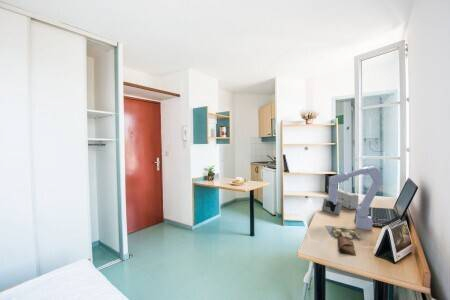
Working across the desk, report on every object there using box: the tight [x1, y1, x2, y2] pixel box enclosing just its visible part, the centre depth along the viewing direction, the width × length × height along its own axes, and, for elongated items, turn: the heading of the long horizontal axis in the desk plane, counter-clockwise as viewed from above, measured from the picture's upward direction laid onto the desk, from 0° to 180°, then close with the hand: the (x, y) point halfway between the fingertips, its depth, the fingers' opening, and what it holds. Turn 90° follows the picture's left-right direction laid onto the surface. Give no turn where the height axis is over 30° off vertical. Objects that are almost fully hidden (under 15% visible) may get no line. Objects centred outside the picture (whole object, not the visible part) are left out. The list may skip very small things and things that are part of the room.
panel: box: [332, 226, 362, 241], centre depth 140 cm, size 14×10×3 cm
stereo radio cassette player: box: [337, 187, 359, 210], centre depth 203 cm, size 21×8×20 cm, turn 8°
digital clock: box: [321, 197, 343, 216], centre depth 187 cm, size 16×9×11 cm, turn 21°
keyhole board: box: [325, 224, 364, 241], centre depth 146 cm, size 18×19×4 cm
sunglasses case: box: [337, 235, 357, 257], centre depth 127 cm, size 18×7×7 cm, turn 155°
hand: (332, 211), depth 161 cm, fingers closed
